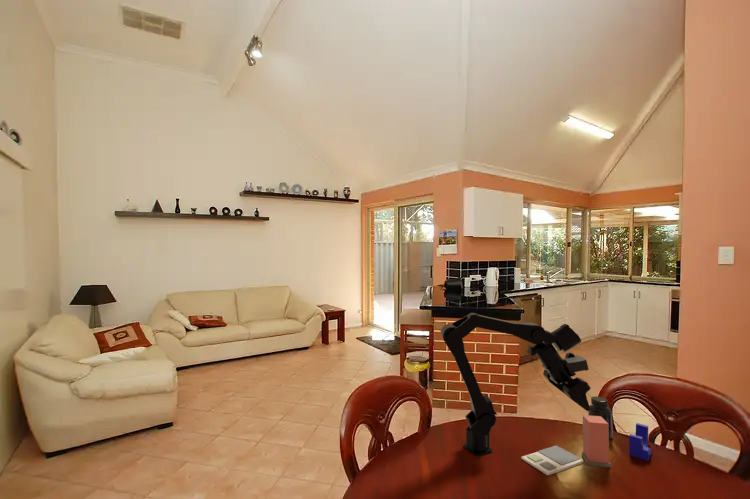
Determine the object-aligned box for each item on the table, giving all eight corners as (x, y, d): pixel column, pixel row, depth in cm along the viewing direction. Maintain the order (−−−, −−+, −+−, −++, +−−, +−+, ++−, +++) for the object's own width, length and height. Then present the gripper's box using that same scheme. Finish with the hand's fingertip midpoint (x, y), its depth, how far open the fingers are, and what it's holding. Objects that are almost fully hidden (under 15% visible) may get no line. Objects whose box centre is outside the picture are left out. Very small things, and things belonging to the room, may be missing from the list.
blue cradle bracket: (648, 461, 105) (647, 440, 105) (629, 455, 108) (629, 435, 108) (654, 446, 113) (654, 427, 113) (637, 441, 116) (636, 422, 116)
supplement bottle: (605, 430, 123) (605, 395, 124) (617, 440, 116) (616, 403, 117) (584, 429, 124) (584, 394, 124) (594, 439, 117) (594, 402, 118)
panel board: (547, 475, 97) (547, 472, 97) (521, 458, 105) (521, 455, 105) (583, 462, 103) (583, 459, 103) (556, 447, 112) (556, 445, 112)
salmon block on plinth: (589, 465, 102) (588, 422, 103) (581, 455, 108) (581, 414, 108) (610, 467, 101) (610, 424, 102) (602, 457, 107) (601, 416, 107)
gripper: (590, 353, 100) (622, 401, 99) (560, 339, 119) (587, 379, 118) (556, 374, 101) (588, 423, 100) (531, 357, 119) (558, 397, 118)
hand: (580, 403), depth 109 cm, fingers open, 9 cm apart
